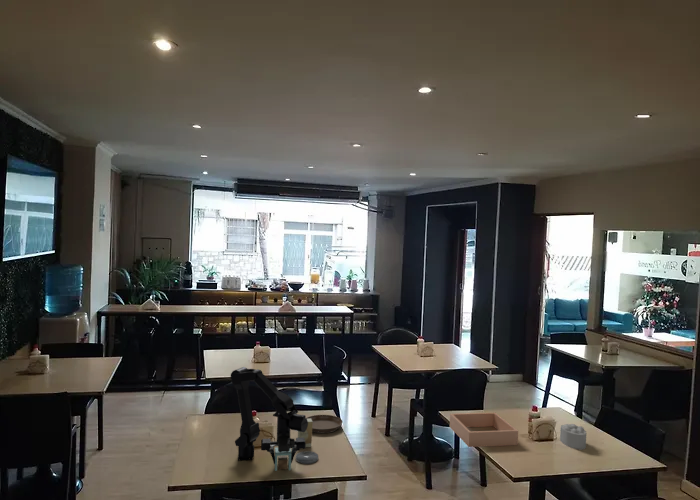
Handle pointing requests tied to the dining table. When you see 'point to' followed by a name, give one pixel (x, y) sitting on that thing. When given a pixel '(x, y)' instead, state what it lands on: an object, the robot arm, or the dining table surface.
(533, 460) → the dining table surface
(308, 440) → the skincare box
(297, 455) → the grey domed disc
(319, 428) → the plant saucer
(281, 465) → the walnut block
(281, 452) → the teal arch
